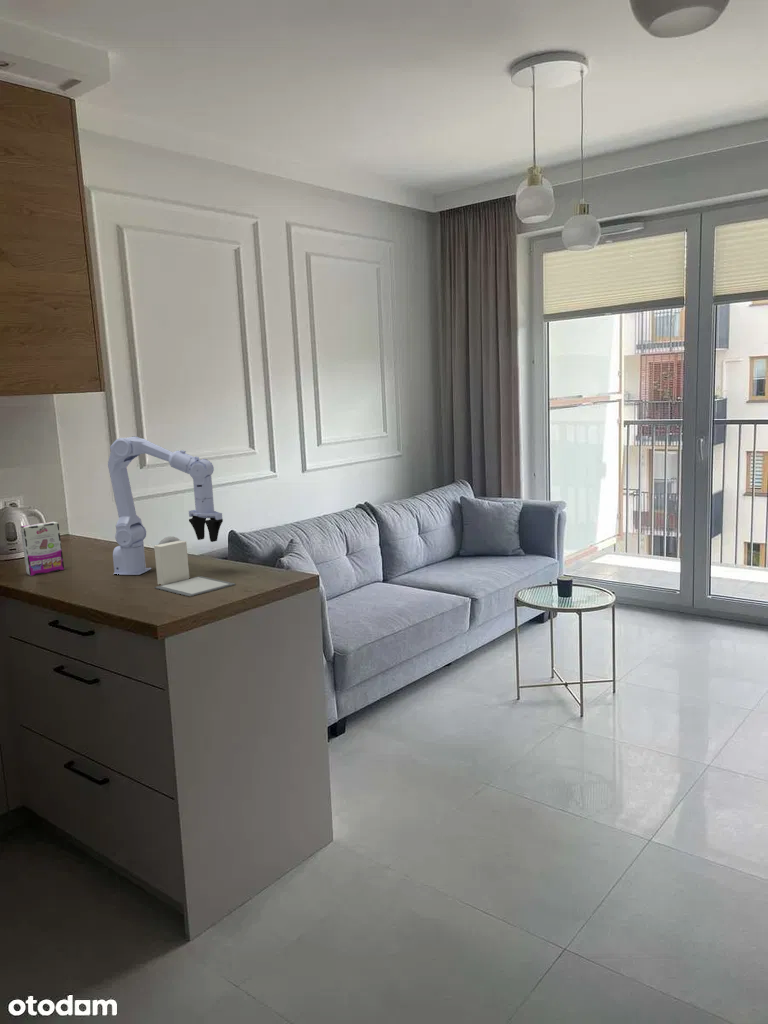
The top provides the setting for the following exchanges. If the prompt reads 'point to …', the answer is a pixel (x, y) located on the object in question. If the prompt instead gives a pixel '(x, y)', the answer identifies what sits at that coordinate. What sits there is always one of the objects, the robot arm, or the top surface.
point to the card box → (171, 562)
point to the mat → (194, 586)
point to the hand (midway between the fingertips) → (207, 540)
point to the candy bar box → (42, 548)
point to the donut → (168, 540)
